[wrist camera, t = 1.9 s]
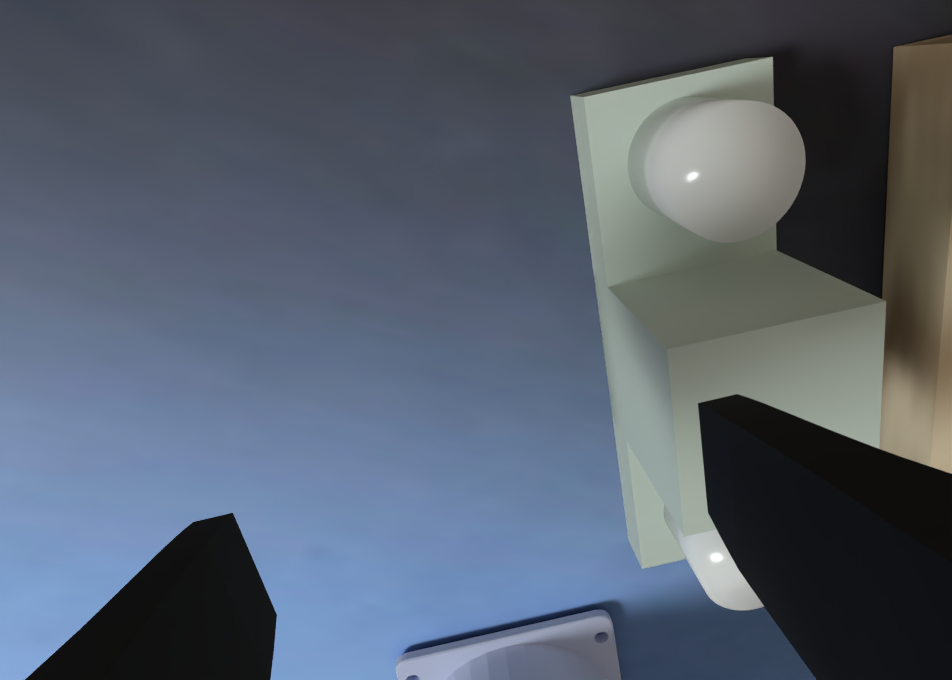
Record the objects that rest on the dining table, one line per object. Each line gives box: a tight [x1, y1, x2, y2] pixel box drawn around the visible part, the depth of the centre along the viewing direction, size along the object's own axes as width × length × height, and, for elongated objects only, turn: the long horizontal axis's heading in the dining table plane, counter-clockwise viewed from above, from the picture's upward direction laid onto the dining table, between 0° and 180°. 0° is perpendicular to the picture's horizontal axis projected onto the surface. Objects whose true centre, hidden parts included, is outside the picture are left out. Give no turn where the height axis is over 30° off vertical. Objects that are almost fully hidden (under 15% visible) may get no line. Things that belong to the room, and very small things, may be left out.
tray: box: [571, 57, 886, 610], centre depth 18 cm, size 15×5×6 cm, turn 11°
